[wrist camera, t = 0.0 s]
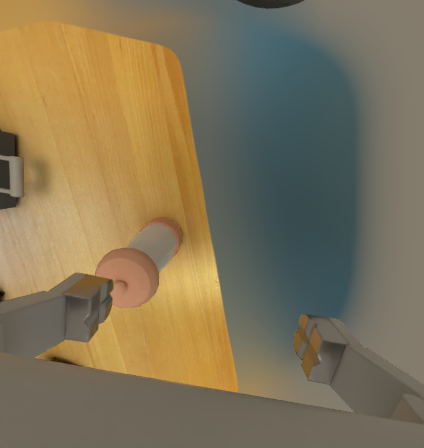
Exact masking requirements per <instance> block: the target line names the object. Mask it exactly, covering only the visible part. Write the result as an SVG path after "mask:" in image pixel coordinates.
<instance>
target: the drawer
mask: <svg viewBox="0 0 424 448" xmlns="http://www.w3.org/2000/svg"><path fill="white" fill-rule="evenodd" d="M16 197H24V160H23V157H17V156H15V143H14V134H11V133H6V132H1V131H0V209H6V208H12V207H16Z"/></svg>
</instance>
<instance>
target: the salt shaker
mask: <svg viewBox="0 0 424 448" xmlns="http://www.w3.org/2000/svg"><path fill="white" fill-rule="evenodd" d="M181 243H182V232H181V229H180V228H179V226H178V225H177V224H176V223H175V222H174V221H173V220H170V219H168V218H156V219H154V220H152V221H150V222H149V223H148V224H146V225H145V226H143V228H142V229H141V230H140V231H139V233H137V234H136V235H135V237H134V238H133V239H132V241H131V242H130V244H129V246H127V247H126V248H120V249H116V250H112V251H111V252H109V253H108V254H106V255H105V256H104V257H103V258H102V260H101V261H100V262H99V264H98V266H97V269H96V272H95V276H98V277H103V278H108V279H113V281H114V289H113V290H112V292H111V293H110V295H111V296H112V298H113V301H112V305H113V306H116V307H119V308H133V307H138V306H141V305H142V304H144V303H146V302H147V301H149V300H150V299H151V298H152V297H153V295H154V294H155V293H156V291H157V288H158V286H159V272H160V271H161V270H162V269H163V268H164V267H165V266H166V265H167V264H168V263H169V262H170V261H171V259H172V258H173V257H174V255H175V254H176V253H177V252H178V250H179V248H180V245H181Z"/></svg>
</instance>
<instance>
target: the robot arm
mask: <svg viewBox="0 0 424 448" xmlns="http://www.w3.org/2000/svg"><path fill="white" fill-rule="evenodd" d="M113 289H114V281H113V279H108V278H103V277H98V276H93V275H88V274H83V273H74V274H73V275H71V276H70V277H68V278H67V279H65V280H64V281H62V282H61V283H60V284H58V285H57V286H55V287H54V288H52V289H51V290H49V291H48V292H46V291H42V292H38V293H34V294H30V295H26V296H22V297H18V298H15V299H11V300H7V301H3V302H0V448H424V384H422V383H421V382H419V381H418V380H416V379H414V378H413V377H411V376H410V375H408V374H407V373H405V372H403V371H402V370H400V369H399V368H397V367H396V366H394V365H393V364H391V363H390V362H388V361H387V360H385V359H383V358H382V357H380V356H379V355H377V354H376V353H374V352H373V351H371V350H369V349H368V348H364V347H363V346H362V345H361V344H360V343H359V341H357V339H356V338H355V337H354V336H353V334H352V333H351V332H350V331H349V330H348V328H347V327H346V326H345V325H344V324H343V323H342V321H340V320H338V319H334V318H327V317H321V316H314V315H307V314H302V315H301V317H300V319H299V324H300V328H299V329H298V330H297V331H296V332H295V336H294V349H295V352H296V354H297V356H298V357H299V358H300V359H301V360H302V364H301V366H302V368H303V370H304V372H305V375H306V377H307V379H308V381H313V382H318V383H323V384H328V385H330V386H331V387H332V389H333V390H334V391H335V392H336V393H337V394H338V395H339V396H340V397H341V398H342V399H343V400H344V401H345V402H346V404H347V405H348V406H349V407H350V408H351V409H352V410H353V411H354V412H355V413H353V412H347V411H341V410H335V409H329V408H324V407H318V406H311V405H306V404H300V403H294V402H288V401H283V400H277V399H270V398H264V397H259V396H253V395H247V394H241V393H235V392H230V391H224V390H218V389H212V388H206V387H200V386H194V385H188V384H183V383H177V382H171V381H165V380H159V379H153V378H147V377H142V376H136V375H130V374H124V373H118V372H112V371H106V370H101V369H95V368H89V367H83V366H77V365H71V364H65V363H60V362H54V361H48V360H42V359H36V358H34V357H36V356H38V355H39V354H41V353H43V352H45V351H47V350H48V349H50V348H52V347H54V346H55V345H57V344H59V343H61V342H62V341H64V339H67V340H74V341H81V342H89V341H90V339H91V338H92V337H93V335H94V334H95V333H96V331H97V330H98V324H100V323H102V322H104V321H105V320H106V318H107V317H108V315H109V313H110V310H111V307H112V301H113V298H112V296H111V295H110V293H111V292H112V290H113Z"/></svg>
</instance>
